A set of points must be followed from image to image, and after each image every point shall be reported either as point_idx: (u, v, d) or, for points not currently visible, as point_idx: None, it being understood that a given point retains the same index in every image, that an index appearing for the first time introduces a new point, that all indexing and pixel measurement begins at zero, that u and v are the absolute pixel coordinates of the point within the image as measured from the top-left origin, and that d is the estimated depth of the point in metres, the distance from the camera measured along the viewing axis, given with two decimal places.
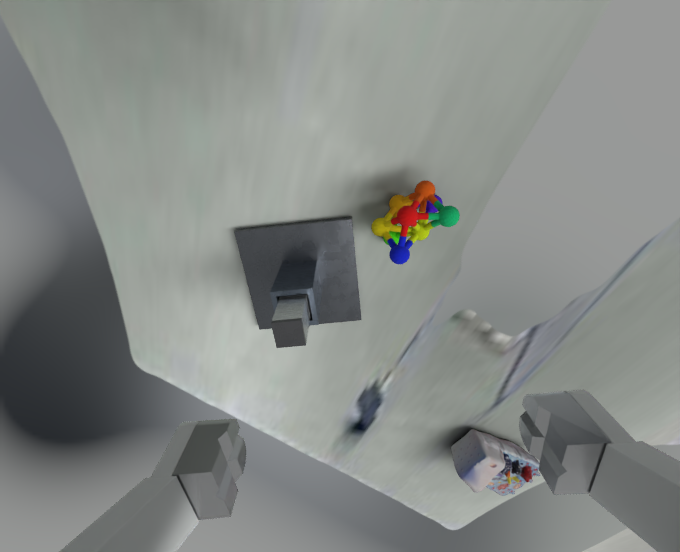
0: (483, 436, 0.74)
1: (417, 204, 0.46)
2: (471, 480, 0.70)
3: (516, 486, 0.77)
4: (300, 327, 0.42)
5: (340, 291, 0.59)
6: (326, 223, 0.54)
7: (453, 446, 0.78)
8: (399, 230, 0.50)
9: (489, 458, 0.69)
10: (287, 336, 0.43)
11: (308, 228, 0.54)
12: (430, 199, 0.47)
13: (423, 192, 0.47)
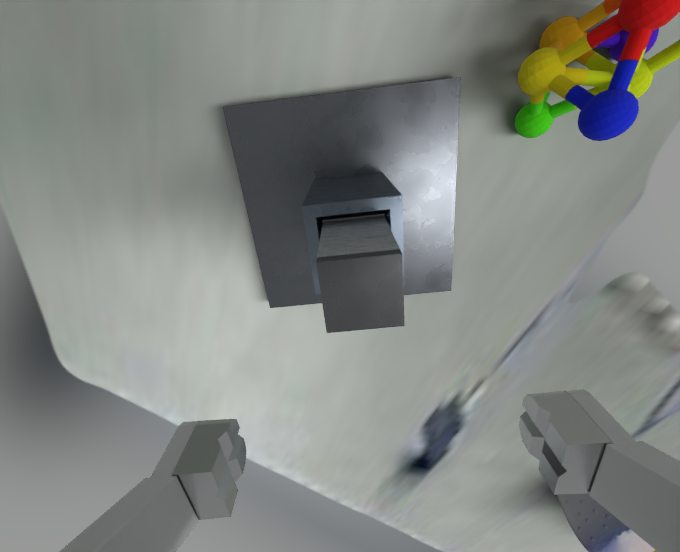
0: None
1: None
2: None
3: None
4: (397, 275, 0.15)
5: (420, 234, 0.32)
6: (408, 87, 0.27)
7: (563, 494, 0.51)
8: (584, 77, 0.23)
9: None
10: (358, 301, 0.16)
11: (371, 99, 0.27)
12: None
13: None
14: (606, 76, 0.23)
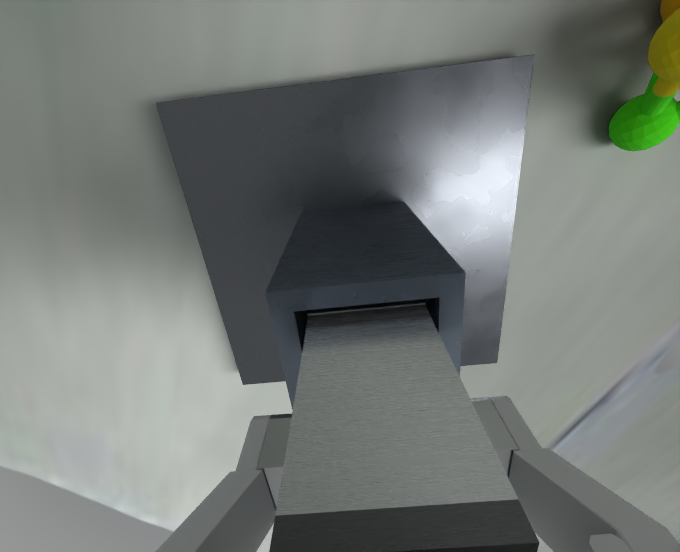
0: None
1: None
2: None
3: None
4: None
5: None
6: (449, 71, 0.17)
7: None
8: None
9: None
10: None
11: (389, 90, 0.17)
12: None
13: None
14: None
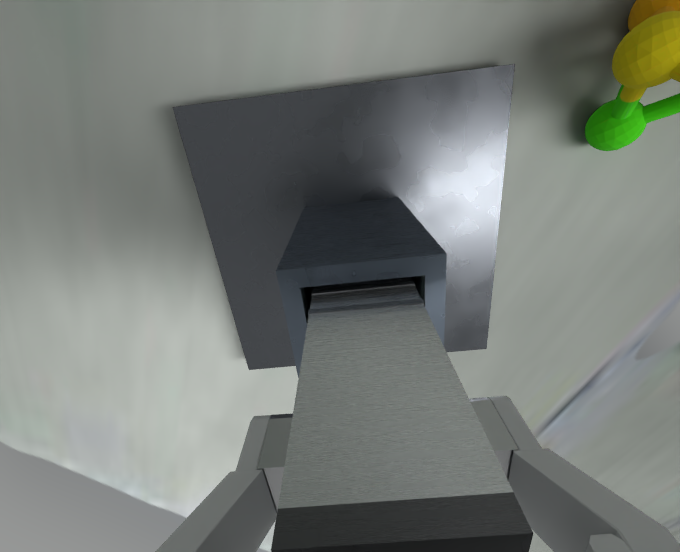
0: None
1: None
2: None
3: None
4: None
5: (448, 279, 0.24)
6: (438, 79, 0.19)
7: None
8: None
9: None
10: None
11: (384, 96, 0.19)
12: None
13: None
14: None
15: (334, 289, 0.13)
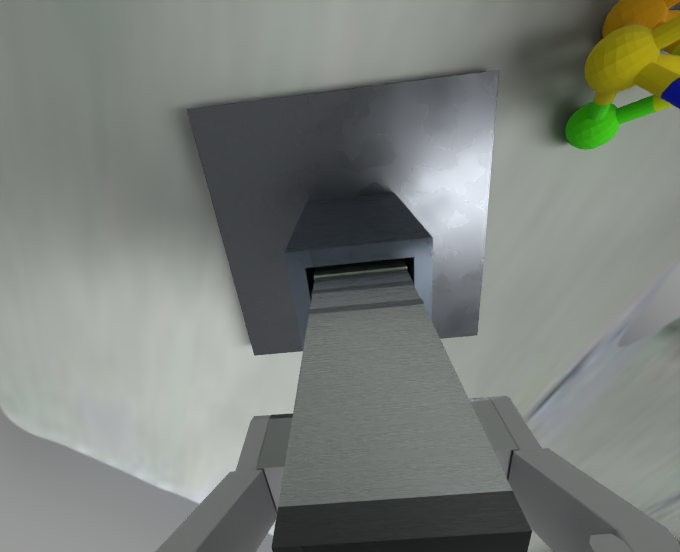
0: None
1: None
2: None
3: None
4: None
5: (440, 269, 0.26)
6: (429, 83, 0.20)
7: None
8: None
9: None
10: None
11: (380, 99, 0.21)
12: None
13: None
14: None
15: (334, 289, 0.13)
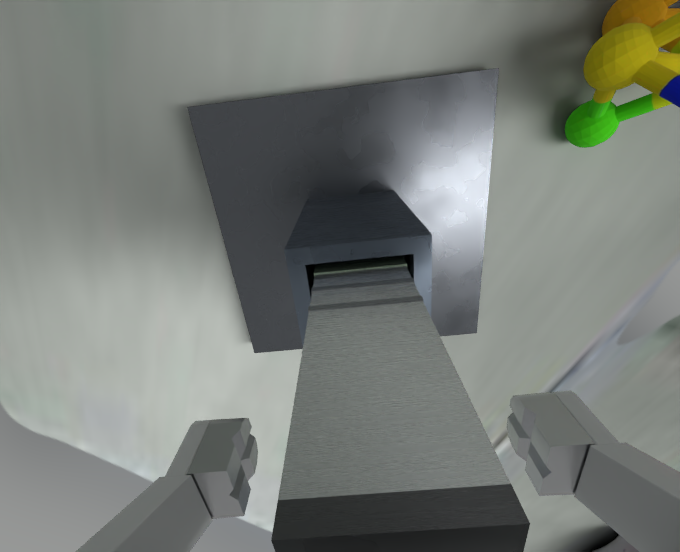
0: None
1: None
2: None
3: None
4: None
5: (440, 267, 0.26)
6: (429, 81, 0.20)
7: None
8: None
9: None
10: None
11: (380, 97, 0.21)
12: None
13: None
14: None
15: (334, 286, 0.13)
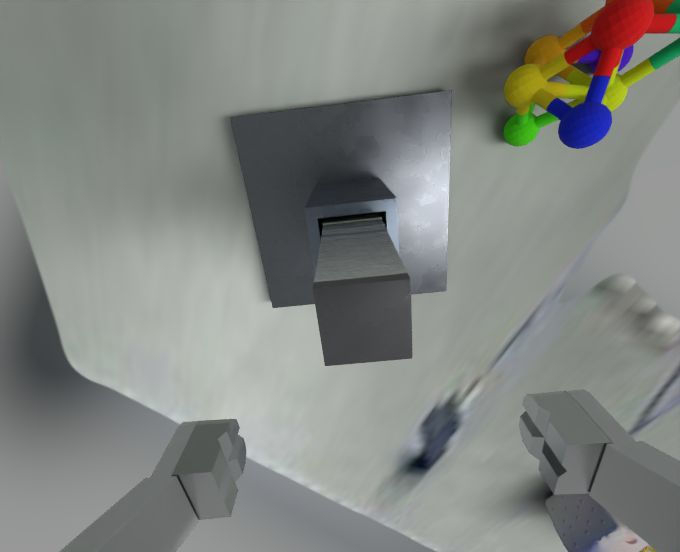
0: None
1: None
2: None
3: None
4: (404, 302, 0.14)
5: (415, 237, 0.34)
6: (403, 99, 0.29)
7: (549, 502, 0.52)
8: (564, 91, 0.25)
9: (623, 529, 0.43)
10: (360, 331, 0.14)
11: (368, 110, 0.29)
12: (656, 2, 0.21)
13: None
14: (584, 90, 0.24)
15: (336, 228, 0.21)
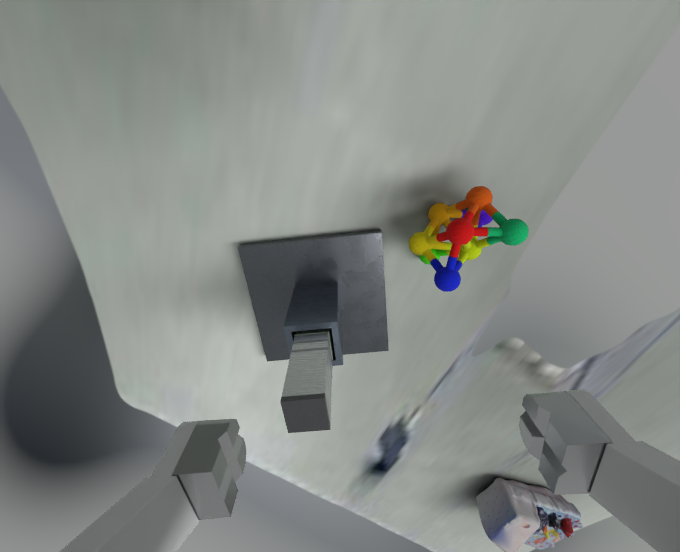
0: (511, 487, 0.65)
1: (472, 216, 0.36)
2: (502, 542, 0.61)
3: (555, 539, 0.67)
4: (323, 407, 0.29)
5: (364, 317, 0.50)
6: (350, 237, 0.44)
7: (478, 497, 0.69)
8: (444, 247, 0.40)
9: (520, 517, 0.59)
10: (304, 418, 0.30)
11: (328, 243, 0.45)
12: (487, 210, 0.37)
13: (478, 201, 0.37)
14: None
15: (300, 341, 0.37)
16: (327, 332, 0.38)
